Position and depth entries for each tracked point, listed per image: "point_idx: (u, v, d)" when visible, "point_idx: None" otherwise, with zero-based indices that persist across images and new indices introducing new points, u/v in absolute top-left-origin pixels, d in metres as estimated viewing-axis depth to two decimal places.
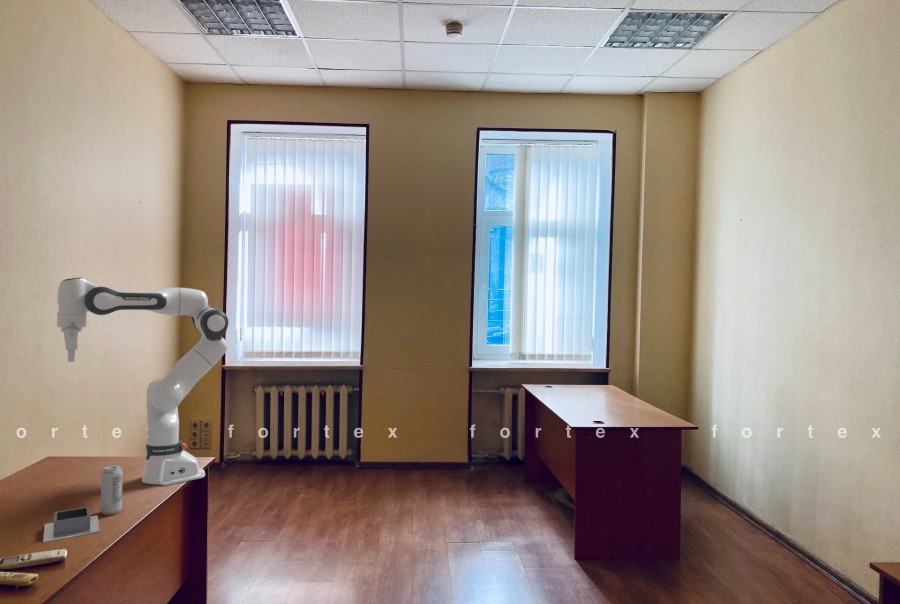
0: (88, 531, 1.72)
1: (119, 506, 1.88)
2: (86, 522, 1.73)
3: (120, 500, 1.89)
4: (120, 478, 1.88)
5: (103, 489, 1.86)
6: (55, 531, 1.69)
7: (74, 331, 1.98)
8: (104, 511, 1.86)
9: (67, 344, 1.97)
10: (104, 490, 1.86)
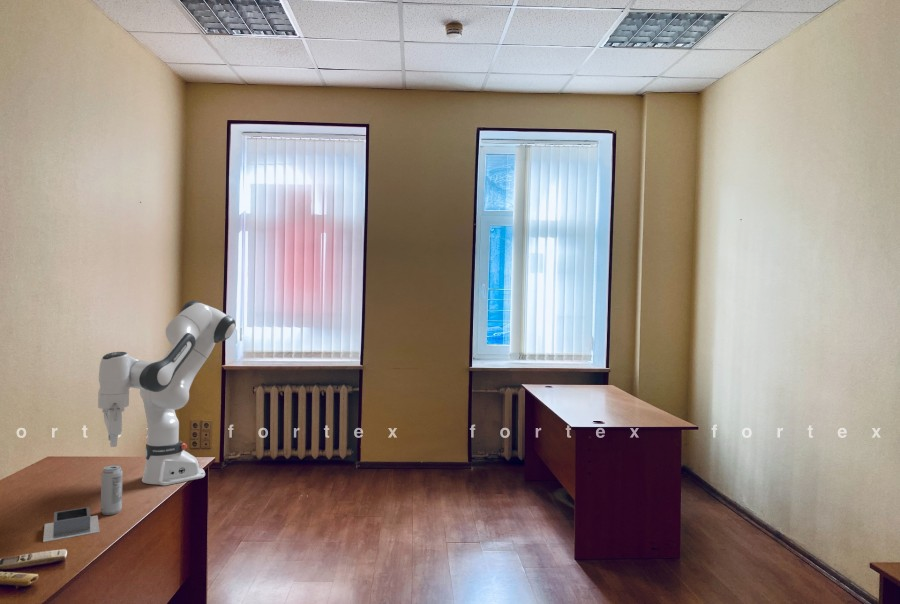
0: (88, 531, 1.72)
1: (119, 506, 1.88)
2: (86, 522, 1.73)
3: (120, 500, 1.89)
4: (120, 478, 1.88)
5: (103, 489, 1.86)
6: (55, 531, 1.69)
7: (118, 414, 1.81)
8: (104, 511, 1.86)
9: (110, 429, 1.79)
10: (104, 490, 1.86)
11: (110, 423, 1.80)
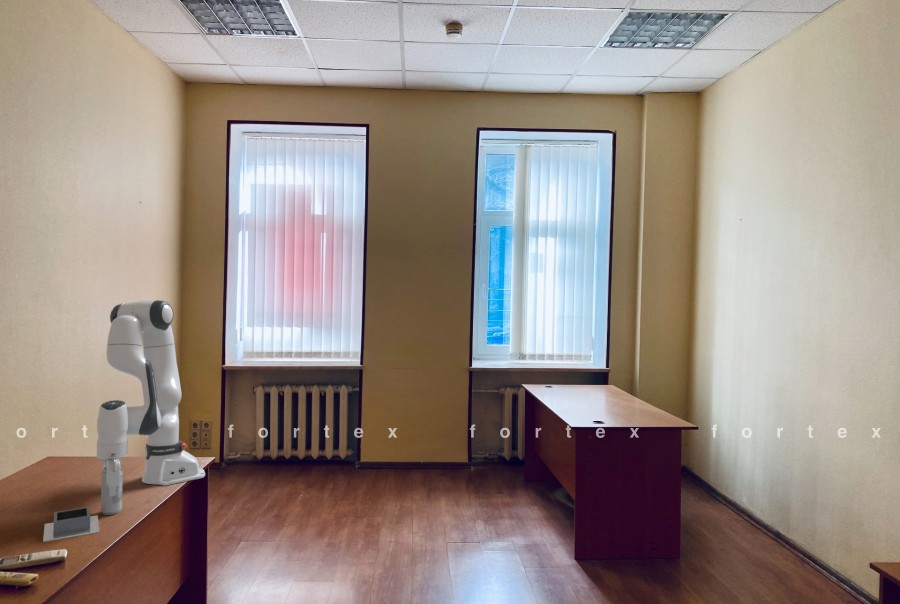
0: (88, 531, 1.72)
1: (119, 506, 1.88)
2: (86, 522, 1.73)
3: (120, 500, 1.89)
4: (120, 478, 1.88)
5: (103, 489, 1.86)
6: (55, 531, 1.69)
7: (116, 465, 1.81)
8: (104, 511, 1.86)
9: (109, 481, 1.80)
10: (104, 490, 1.86)
11: (109, 475, 1.80)
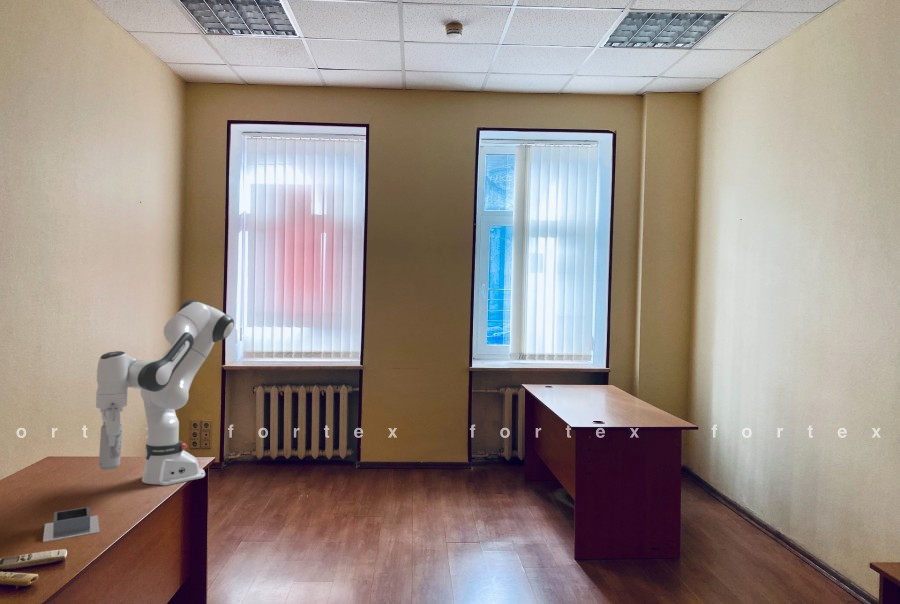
0: (88, 531, 1.72)
1: (117, 461, 1.87)
2: (86, 522, 1.73)
3: (119, 455, 1.88)
4: (119, 433, 1.87)
5: (102, 443, 1.85)
6: (55, 531, 1.69)
7: (116, 414, 1.80)
8: (102, 465, 1.85)
9: (109, 429, 1.79)
10: (103, 444, 1.85)
11: (108, 423, 1.79)
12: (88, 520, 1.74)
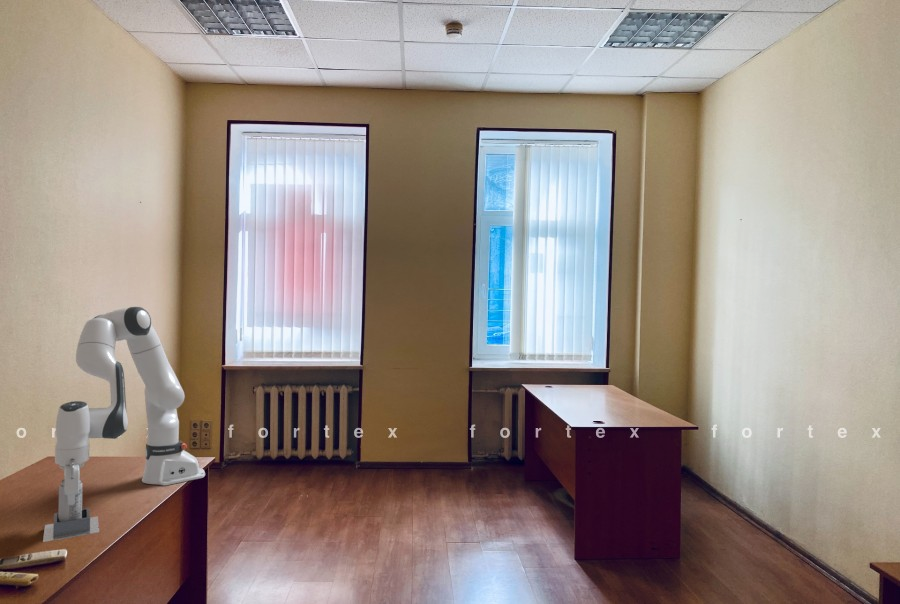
0: (88, 532, 1.72)
1: None
2: (86, 523, 1.73)
3: (79, 516, 1.75)
4: (79, 492, 1.74)
5: (60, 503, 1.72)
6: (55, 532, 1.69)
7: (75, 472, 1.68)
8: None
9: (66, 488, 1.66)
10: (61, 505, 1.72)
11: (66, 482, 1.66)
12: (88, 521, 1.74)
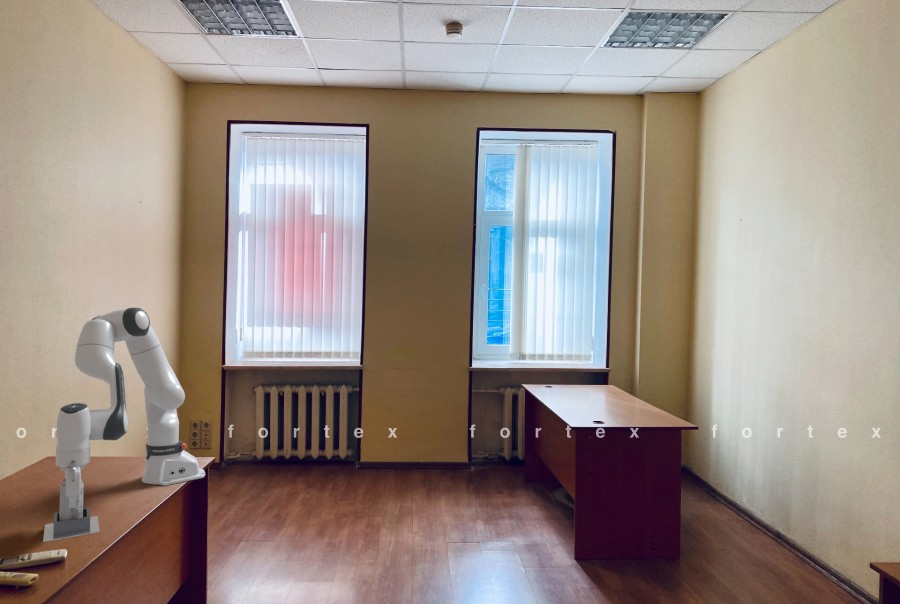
0: (88, 532, 1.72)
1: None
2: (86, 523, 1.73)
3: (80, 515, 1.75)
4: (80, 491, 1.75)
5: (61, 503, 1.72)
6: (55, 532, 1.69)
7: (76, 474, 1.68)
8: None
9: (68, 490, 1.66)
10: (62, 504, 1.72)
11: (67, 484, 1.66)
12: (88, 521, 1.73)
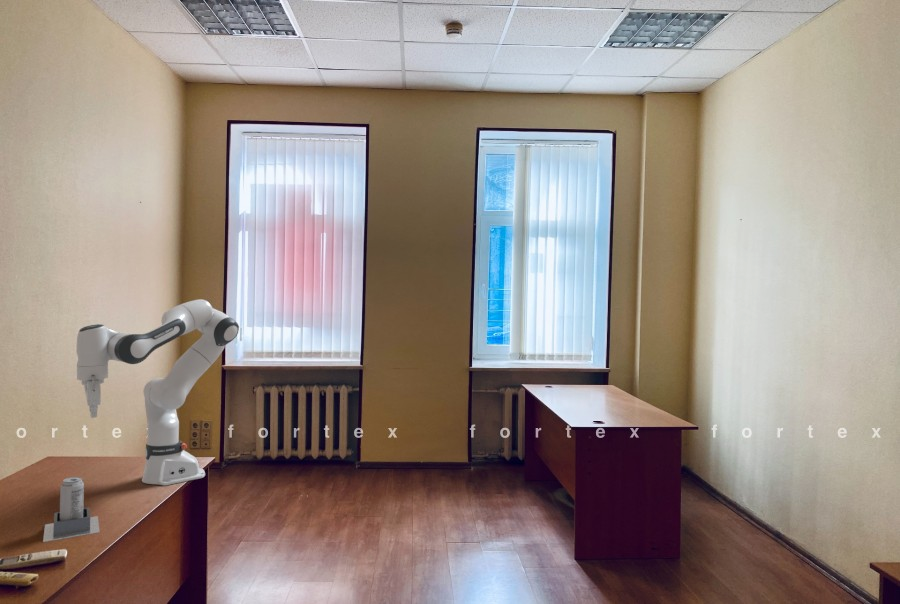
0: (88, 532, 1.72)
1: None
2: (86, 523, 1.73)
3: (80, 515, 1.75)
4: (80, 491, 1.74)
5: (61, 503, 1.72)
6: (55, 532, 1.69)
7: (96, 385, 1.83)
8: None
9: (89, 400, 1.81)
10: (63, 504, 1.72)
11: (89, 394, 1.81)
12: (88, 521, 1.74)
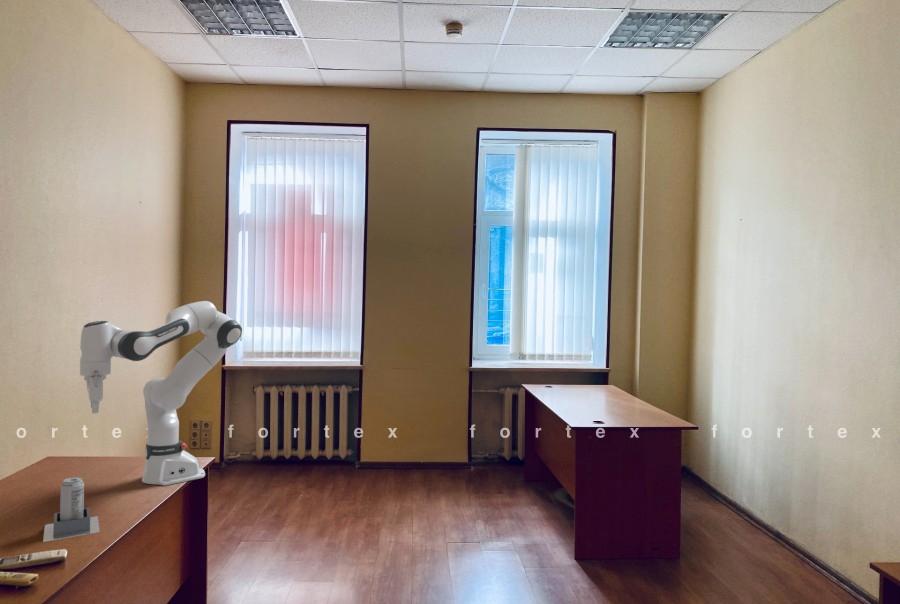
0: (88, 532, 1.72)
1: None
2: (86, 523, 1.73)
3: (81, 515, 1.75)
4: (81, 491, 1.75)
5: (61, 503, 1.72)
6: (55, 532, 1.69)
7: (99, 381, 1.84)
8: None
9: (91, 395, 1.82)
10: (63, 504, 1.72)
11: (91, 389, 1.82)
12: (88, 521, 1.73)
